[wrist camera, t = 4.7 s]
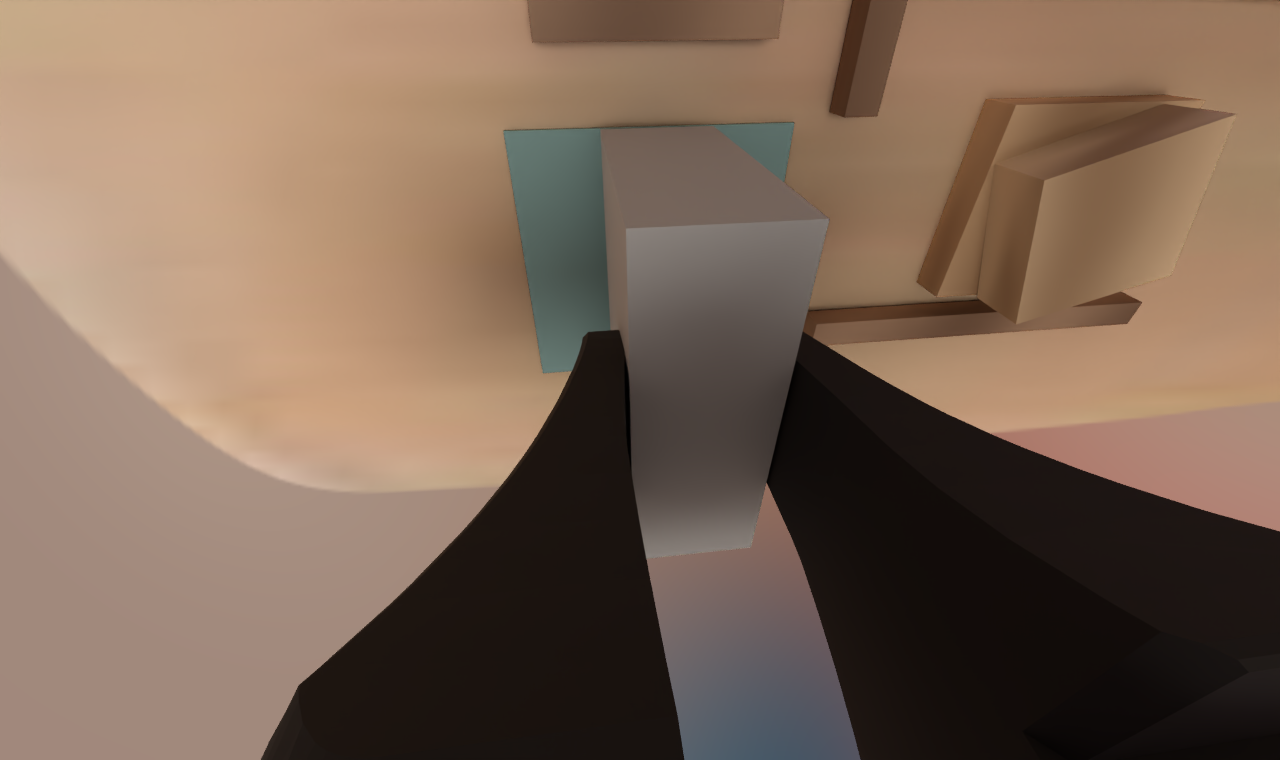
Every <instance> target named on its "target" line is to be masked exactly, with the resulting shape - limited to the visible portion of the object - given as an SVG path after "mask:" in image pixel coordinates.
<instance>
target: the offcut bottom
mask: <svg viewBox="0 0 1280 760" xmlns="http://www.w3.org/2000/svg"><path fill="white" fill-rule="evenodd" d="M1204 102H1205V100H1200V99H1192V98H1185V97H1177V96H1169V95H1138V96H1095V97H1053V98H1010V99H986V100H985V103H984V105H983V108H982V111H981V113H980V116H979V119H978V121H977V124H976V127H975V129H974V132H973V134H972V137H971V140H970V142H969V145H968V148H967V150H966V153H965V156H964V158H963V161H962V163H961V166H960V169H959V171H958V174H957V177H956V179H955V182H954V185H953V187H952V190H951V193H950V195H949V198H948V200H947V203H946V206H945V208H944V211H943V214H942V216H941V219H940V222H939V224H938V227H937V229H936V232H935V235H934V237H933V240H932V243H931V245H930V248H929V251H928V253H927V256H926V258H925V261H924V264H923V266H922V269H921V272H920V274H919V277H918V280H917V283H919V284H920V285H921V286H923V287H924V288H925V289H927V290H928V291H929V292H931V293H932V294H933V295H934V296H936V297H946V296H962V295H977V293H978V286H979V278H980V271H981V263H982V255H983V248H984V240H985V233H986V225H987V218H988V210H989V202H990V195H991V188H992V180H993V173H994V166H995V163H998V162H1001V161H1004V160H1007V159H1009V158H1012V157H1015V156H1018V155H1021V154H1023V153H1026V152H1029V151H1032V150H1035V149H1038V148H1040V147H1043V146H1046V145H1049V144H1052V143H1055V142H1057V141H1060V140H1063V139H1066V138H1069V137H1072V136H1074V135H1077V134H1080V133H1083V132H1086V131H1089V130H1091V129H1094V128H1097V127H1100V126H1103V125H1106V124H1108V123H1111V122H1114V121H1117V120H1120V119H1123V118H1125V117H1128V116H1131V115H1134V114H1137V113H1140V112H1142V111H1145V110H1148V109H1151V108H1154V107H1157V106H1159V105H1162V104H1169V105H1176V106H1183V107H1190V108H1197V109H1200V108H1201V106H1202V105H1203V103H1204Z"/></svg>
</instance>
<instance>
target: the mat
mask: <svg viewBox="0 0 1280 760" xmlns="http://www.w3.org/2000/svg"><path fill="white" fill-rule="evenodd" d="M695 126H714V127H715V128H716V129H718V130H719V131H720V132H721V133H723V134H724V135H725V136H726V137H728V138H729V139H730V140H731V141H733V142H734V143H735V144H736V145H738V146H739V147H740V148H741V149H743V150H744V151H745V152H746V153H748V154H749V155H750V156H751V157H753V158H754V159H755V160H756V161H758V162H759V163H760V164H762V165H763V166H764V167H765V168H767V169H768V170H769V171H770V172H772V173H773V174H774V175H775V176H777V177H778V178H779V179H780V180H782V181H783V182H784V181H785V175H786V169H787V164H788V158H789V152H790V146H791V140H792V134H793V128H794V122H778V123H744V124H709V125H675V126H640V127H605V128H571V129H536V130H504V138H505V144H506V150H507V156H508V162H509V168H510V174H511V180H512V187H513V193H514V199H515V205H516V211H517V217H518V223H519V229H520V235H521V242H522V248H523V254H524V260H525V266H526V272H527V278H528V284H529V290H530V297H531V303H532V309H533V315H534V321H535V327H536V333H537V339H538V346H539V352H540V358H541V364H542V370H543V373H551V372H565V371H572V370H573V367H574V365H575V362H576V360H577V357H578V354H579V351H580V348H581V344H582V339H583V337H584V336H585V335H586V334H587V333H588V332H592V331H608V330H610V310H609V291H608V271H607V251H606V232H605V212H604V193H603V173H602V153H601V134H600V129H626V128H660V127H695Z"/></svg>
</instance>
